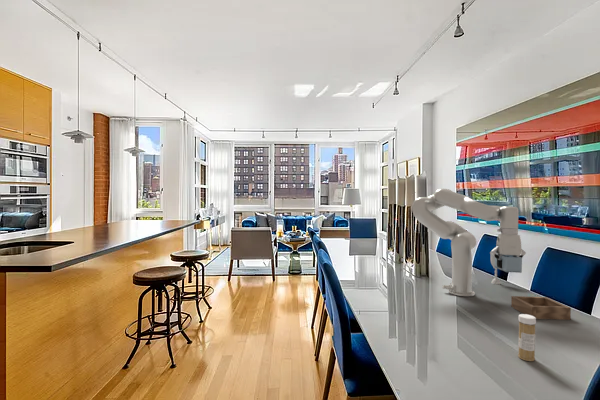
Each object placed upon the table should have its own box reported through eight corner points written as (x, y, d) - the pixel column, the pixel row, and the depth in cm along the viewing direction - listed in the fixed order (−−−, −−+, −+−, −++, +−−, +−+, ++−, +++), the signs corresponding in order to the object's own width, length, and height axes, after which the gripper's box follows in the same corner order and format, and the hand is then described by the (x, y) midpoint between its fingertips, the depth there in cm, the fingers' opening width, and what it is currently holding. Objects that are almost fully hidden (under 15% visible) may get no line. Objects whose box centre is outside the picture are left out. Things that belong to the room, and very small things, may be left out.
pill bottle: (519, 353, 112) (520, 312, 111) (536, 358, 108) (537, 315, 108) (516, 358, 108) (517, 315, 108) (533, 363, 105) (534, 319, 105)
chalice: (504, 285, 202) (504, 254, 201) (491, 284, 203) (492, 253, 203) (499, 282, 209) (500, 252, 209) (487, 281, 210) (488, 251, 210)
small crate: (506, 272, 163) (506, 257, 163) (494, 267, 174) (495, 253, 174) (521, 272, 163) (522, 257, 163) (508, 267, 174) (509, 253, 174)
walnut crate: (531, 318, 145) (532, 306, 145) (511, 306, 161) (511, 296, 161) (570, 319, 144) (570, 307, 144) (546, 307, 160) (546, 297, 160)
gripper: (494, 232, 165) (493, 269, 165) (531, 233, 164) (530, 270, 164) (486, 230, 173) (485, 265, 173) (522, 231, 172) (521, 267, 172)
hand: (507, 267), depth 169 cm, fingers closed on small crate, 7 cm apart
